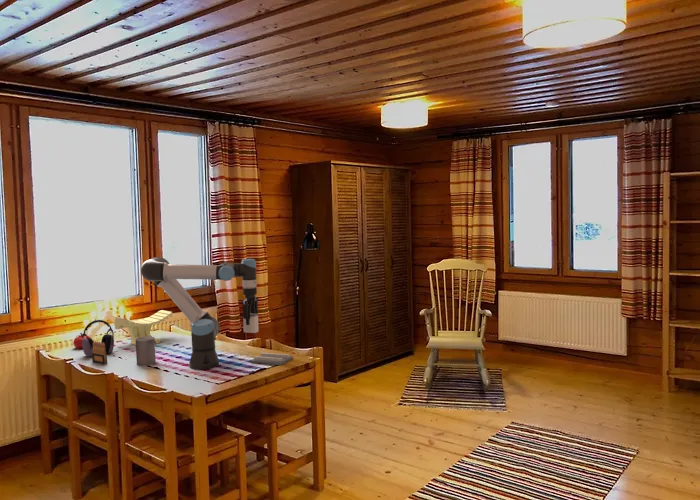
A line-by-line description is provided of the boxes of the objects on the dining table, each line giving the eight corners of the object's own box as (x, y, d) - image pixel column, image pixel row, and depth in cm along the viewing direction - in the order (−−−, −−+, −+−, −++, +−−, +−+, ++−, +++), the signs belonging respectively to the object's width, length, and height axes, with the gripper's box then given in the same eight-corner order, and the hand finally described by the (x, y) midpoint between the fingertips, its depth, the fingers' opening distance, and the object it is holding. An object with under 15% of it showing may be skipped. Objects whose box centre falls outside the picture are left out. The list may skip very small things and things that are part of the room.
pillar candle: (136, 362, 315) (134, 335, 313) (155, 359, 318) (153, 333, 317) (137, 366, 306) (135, 338, 304) (156, 364, 309) (155, 336, 308)
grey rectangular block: (254, 333, 315) (254, 314, 314) (243, 332, 317) (243, 314, 316) (258, 331, 318) (258, 313, 318) (247, 330, 321) (246, 312, 320)
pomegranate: (93, 347, 352) (92, 332, 351) (75, 350, 346) (74, 335, 345) (90, 345, 360) (89, 330, 359) (72, 347, 354) (71, 332, 354)
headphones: (116, 352, 337) (114, 318, 336) (87, 358, 325) (85, 323, 324) (109, 350, 344) (107, 317, 342) (80, 356, 332) (78, 321, 330)
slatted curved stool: (160, 336, 379) (159, 309, 377) (173, 339, 368) (172, 311, 367) (115, 345, 357) (114, 316, 356) (128, 349, 346) (126, 319, 345)
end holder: (280, 365, 300) (280, 360, 300) (250, 362, 307) (250, 357, 306) (292, 358, 313) (292, 353, 313) (263, 356, 320) (263, 351, 320)
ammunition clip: (92, 362, 318) (91, 340, 317) (95, 361, 319) (94, 339, 318) (104, 364, 312) (103, 342, 311) (107, 363, 313) (106, 341, 312)
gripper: (247, 289, 307) (249, 333, 308) (263, 285, 323) (264, 327, 324) (235, 289, 309) (236, 332, 311) (251, 285, 325) (252, 326, 327)
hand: (251, 329), depth 318 cm, fingers closed on grey rectangular block, 4 cm apart
